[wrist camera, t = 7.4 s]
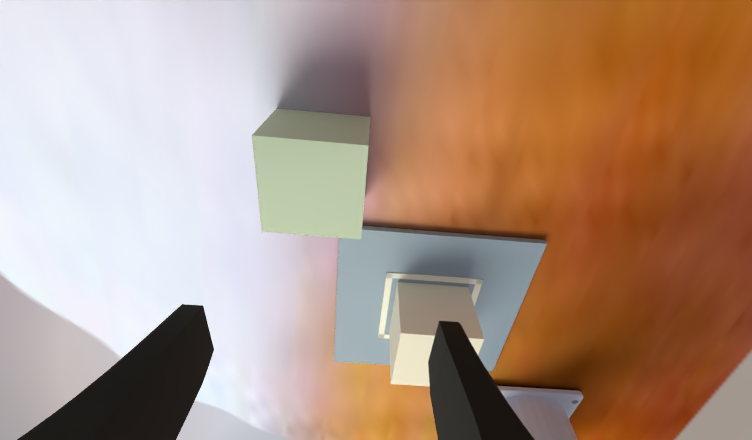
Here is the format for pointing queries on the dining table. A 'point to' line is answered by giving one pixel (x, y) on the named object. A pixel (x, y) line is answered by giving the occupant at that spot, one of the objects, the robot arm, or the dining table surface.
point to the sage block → (312, 173)
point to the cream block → (426, 327)
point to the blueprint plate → (427, 266)
